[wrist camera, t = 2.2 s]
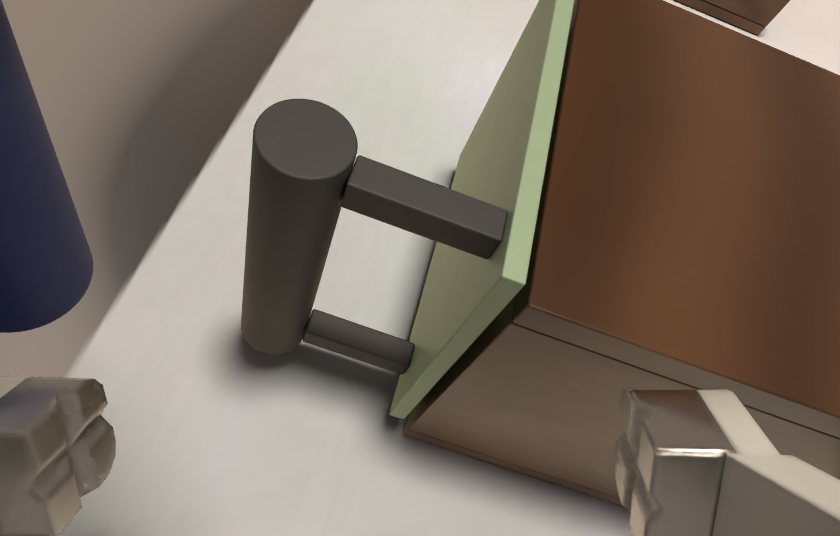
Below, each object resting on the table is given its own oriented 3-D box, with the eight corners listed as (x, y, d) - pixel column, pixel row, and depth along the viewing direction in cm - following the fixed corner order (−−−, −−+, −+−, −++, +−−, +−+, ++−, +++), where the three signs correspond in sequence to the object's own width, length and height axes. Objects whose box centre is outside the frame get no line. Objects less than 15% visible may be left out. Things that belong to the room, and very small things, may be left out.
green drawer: (224, 361, 23) (225, 176, 13) (336, 108, 30) (389, -130, 21) (750, 534, 25) (1070, 481, 16) (738, 261, 33) (953, 111, 23)
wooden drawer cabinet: (402, 434, 25) (527, 306, 15) (470, 172, 32) (584, -34, 22) (761, 551, 26) (1095, 509, 16) (746, 276, 34) (970, 130, 24)
